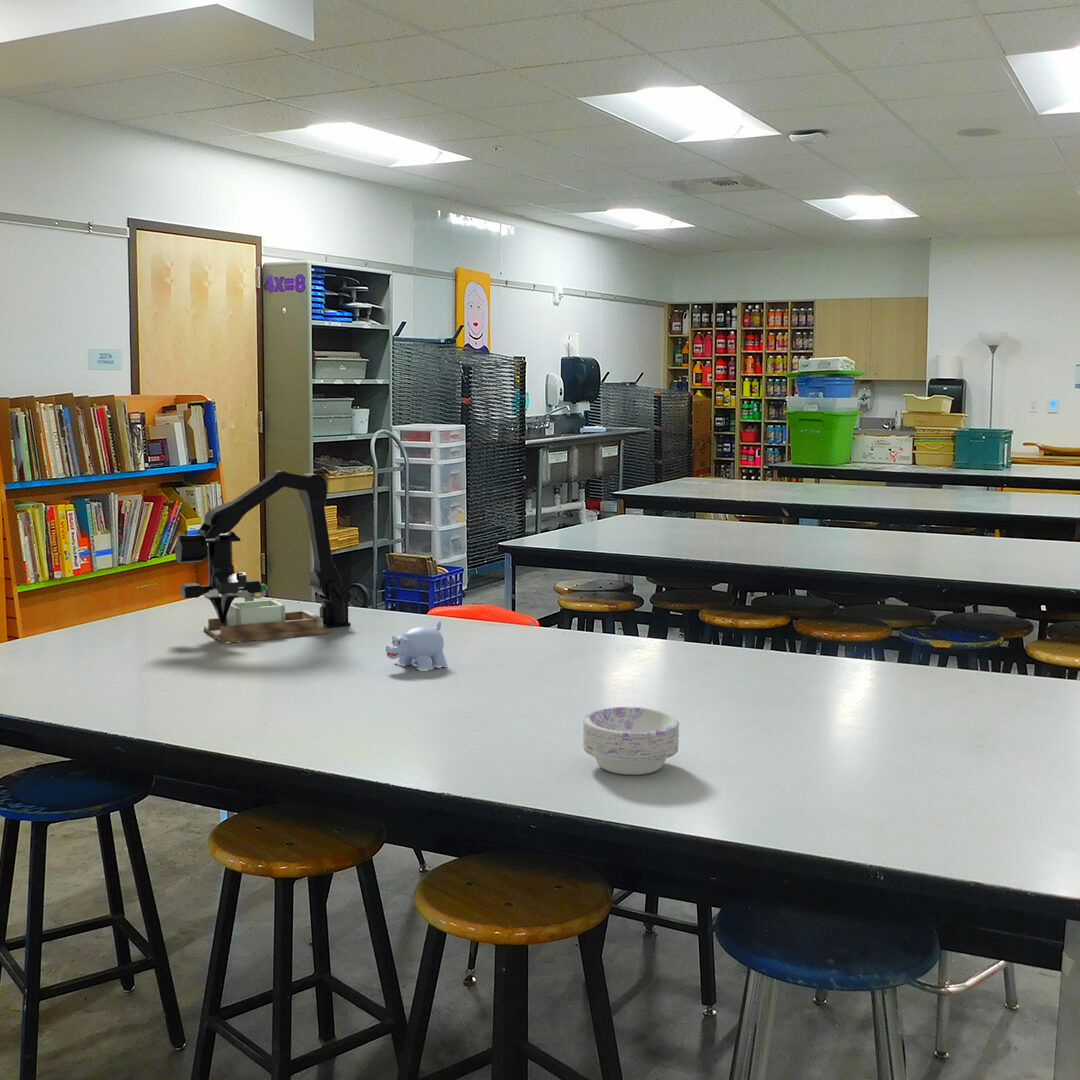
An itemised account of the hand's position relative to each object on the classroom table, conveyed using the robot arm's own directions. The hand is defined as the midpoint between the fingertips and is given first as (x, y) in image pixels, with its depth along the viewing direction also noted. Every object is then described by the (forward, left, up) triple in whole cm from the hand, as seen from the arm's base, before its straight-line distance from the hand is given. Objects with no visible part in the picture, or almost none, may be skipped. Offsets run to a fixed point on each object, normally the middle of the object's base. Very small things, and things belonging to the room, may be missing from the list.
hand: (222, 622), depth 283 cm
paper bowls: (-31, +134, -4) cm, 137 cm away
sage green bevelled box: (-8, 0, -2) cm, 9 cm away
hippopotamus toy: (-29, +53, -4) cm, 60 cm away
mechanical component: (-12, -17, -4) cm, 21 cm away
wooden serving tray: (-11, 0, -3) cm, 12 cm away
